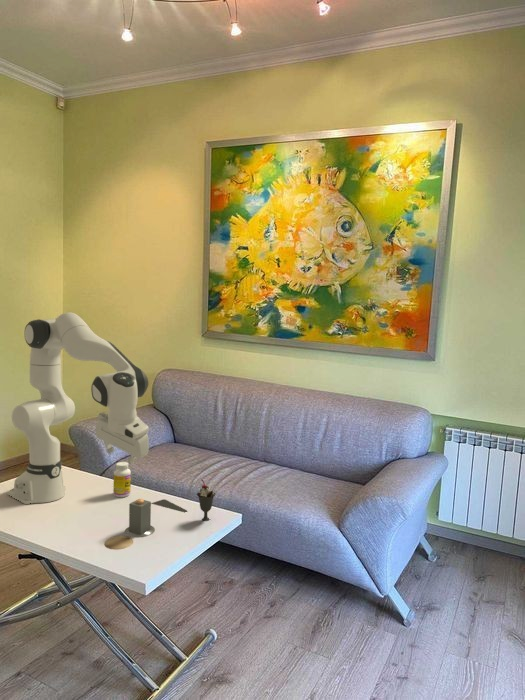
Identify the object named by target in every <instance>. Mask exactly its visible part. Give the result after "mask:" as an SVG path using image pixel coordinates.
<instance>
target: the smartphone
mask: <svg viewBox="0 0 525 700" xmlns="http://www.w3.org/2000/svg"><path fill="white" fill-rule="evenodd" d="M151 505H155V506H159V507H162V508H166V509H170V510H174V511H178V512H180V513H185V512H187V513H188V509H186V508H183V507H181V506H179V505H177V504H175V503H173V502H171V501H169V500H167V499H160V500H158V501H157V500H156V501H153V502H151ZM185 514H186V513H185Z"/></svg>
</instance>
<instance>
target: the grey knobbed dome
mask: <svg viewBox="0 0 525 700" xmlns="http://www.w3.org/2000/svg"><path fill="white" fill-rule="evenodd" d="M155 530H156V529H155V527H154V526H152V525H151V526H150V530H149V531H147V532H145V533H144V534H142V535H138V534H135V533H132V532H129V526H128V527H127V528H125V529H124V534H125V535H126V536H127V537H130V538H145V537H146V538H147V537H149V536H151V535H153V534H154V533H155Z"/></svg>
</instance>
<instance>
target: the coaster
mask: <svg viewBox="0 0 525 700" xmlns="http://www.w3.org/2000/svg"><path fill="white" fill-rule="evenodd" d="M133 544H134V539H133V537H130V536H127V535H126V536H125V535H119V536H118V535H117V536H114V537H110V538H108V539H106V541H105V542H104V546H105V547H106V548H107V549H110V550H123V549H127V548H130V547H131V546H132V545H133Z"/></svg>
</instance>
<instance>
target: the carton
mask: <svg viewBox="0 0 525 700" xmlns="http://www.w3.org/2000/svg"><path fill="white" fill-rule="evenodd" d="M151 503H152V502H151V501H150V500H147V499H146V500H145V499H143V498H138V499H135V500H134V501H132V502H130V503H129V509H128V511H129V512H128V514H129V515H128V517H129V518H128V527H129V532H132V533H135V534H138V535H142V534H144V533H145V532H147V531H149V530H150V526H152V525H151V521H152V520H151V516H152V515H151V514H152V512H151V511H152V510H151V509H152V504H151Z"/></svg>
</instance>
